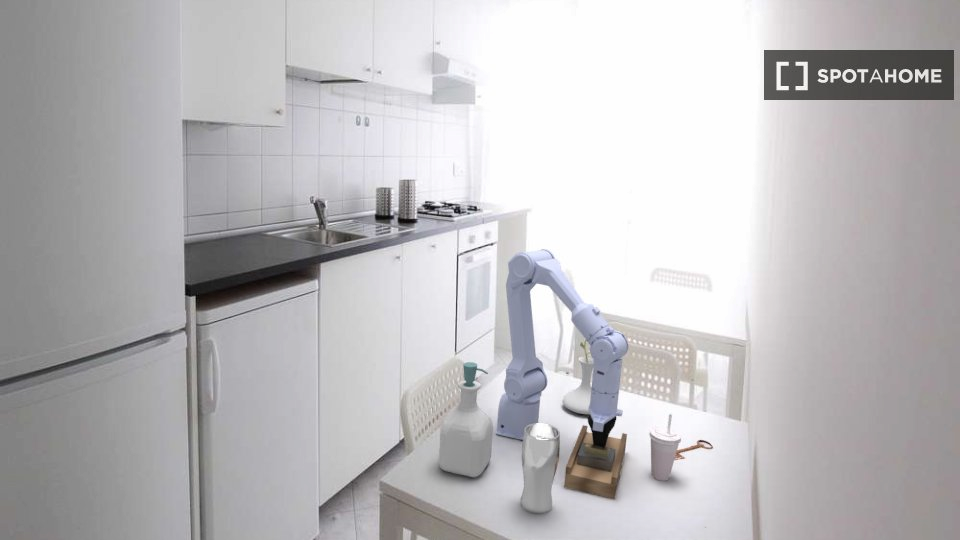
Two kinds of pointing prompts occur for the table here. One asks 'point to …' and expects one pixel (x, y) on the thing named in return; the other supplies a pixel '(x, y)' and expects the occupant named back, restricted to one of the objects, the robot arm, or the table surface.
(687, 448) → the key
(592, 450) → the lever cap
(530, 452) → the beer glass
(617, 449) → the wooden tray
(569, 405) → the flower in vase
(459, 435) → the soap bottle
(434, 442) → the table surface
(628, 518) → the table surface
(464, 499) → the table surface
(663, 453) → the smoothie
